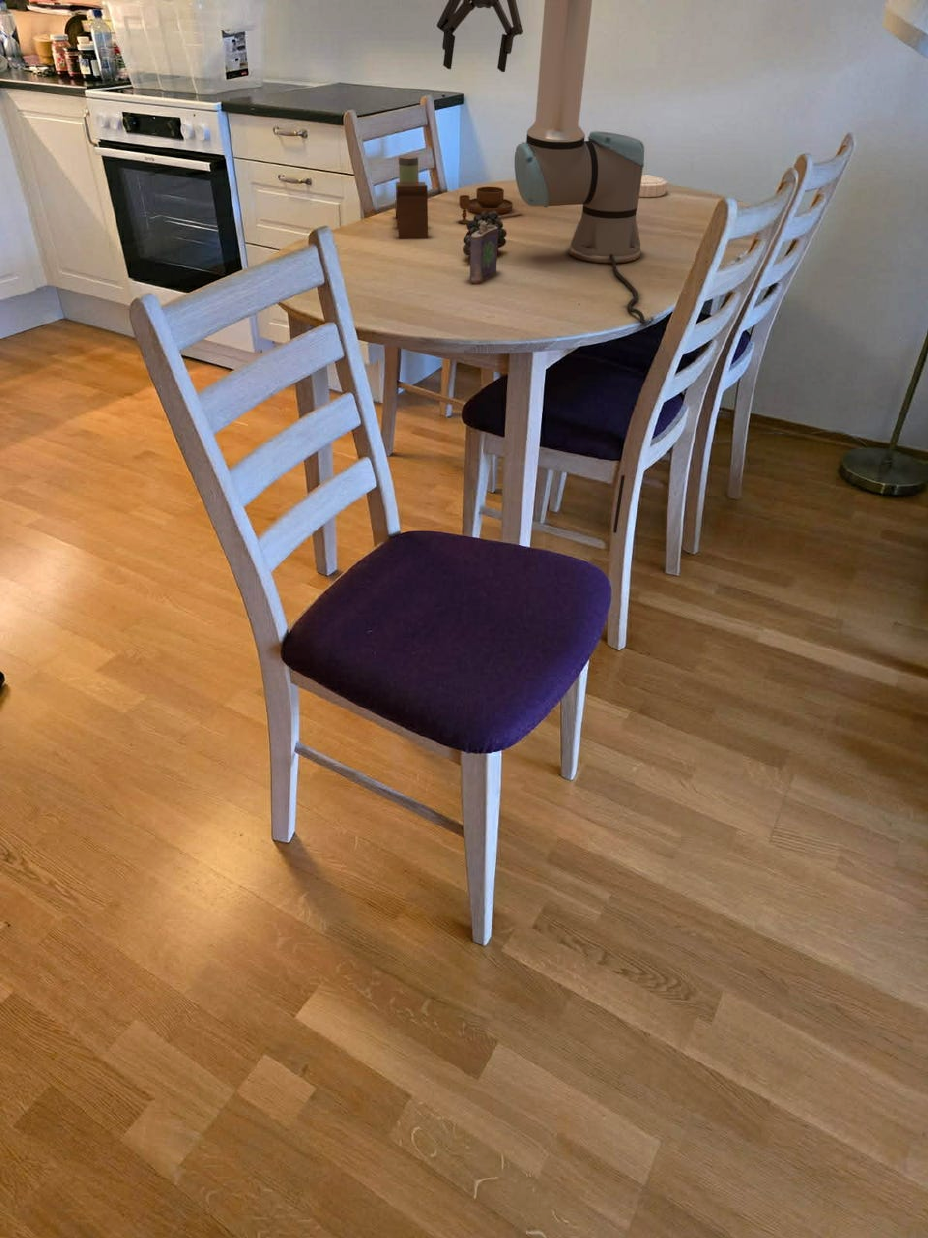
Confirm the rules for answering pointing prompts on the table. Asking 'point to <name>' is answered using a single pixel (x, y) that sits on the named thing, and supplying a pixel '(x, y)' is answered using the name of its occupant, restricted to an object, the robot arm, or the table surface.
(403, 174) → the spice jar
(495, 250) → the flask
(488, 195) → the place setting
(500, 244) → the fruit
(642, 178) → the mooncake
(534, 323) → the table surface
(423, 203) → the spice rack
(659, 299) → the table surface
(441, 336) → the table surface
